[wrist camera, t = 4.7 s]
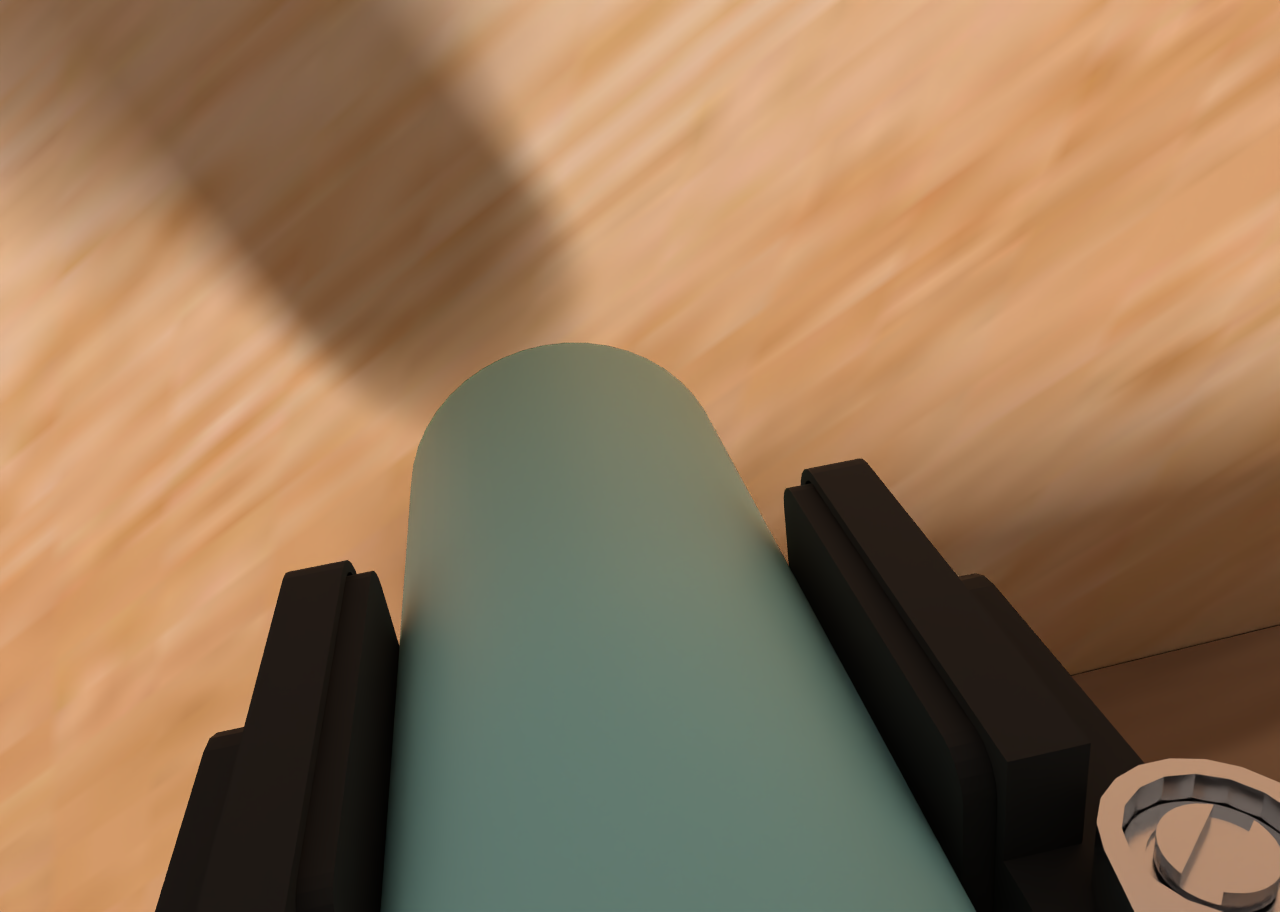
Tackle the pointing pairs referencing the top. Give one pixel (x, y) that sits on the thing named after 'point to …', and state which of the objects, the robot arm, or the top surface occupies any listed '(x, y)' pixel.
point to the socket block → (1198, 702)
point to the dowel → (623, 674)
